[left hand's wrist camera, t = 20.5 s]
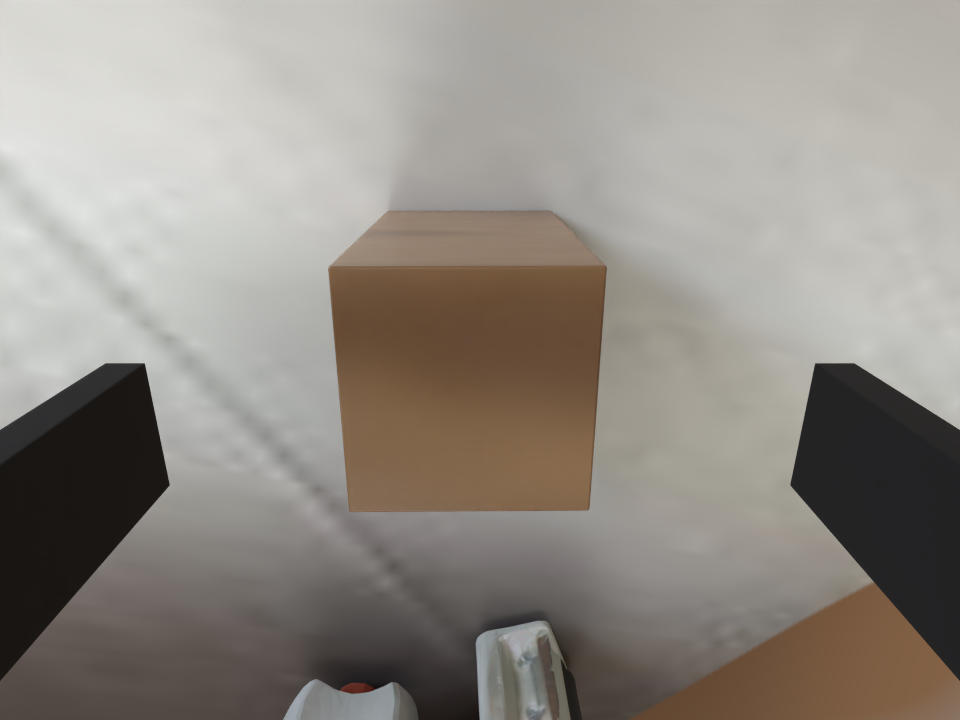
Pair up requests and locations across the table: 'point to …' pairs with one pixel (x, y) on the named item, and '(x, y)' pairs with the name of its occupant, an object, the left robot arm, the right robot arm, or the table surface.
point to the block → (468, 362)
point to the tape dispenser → (501, 684)
